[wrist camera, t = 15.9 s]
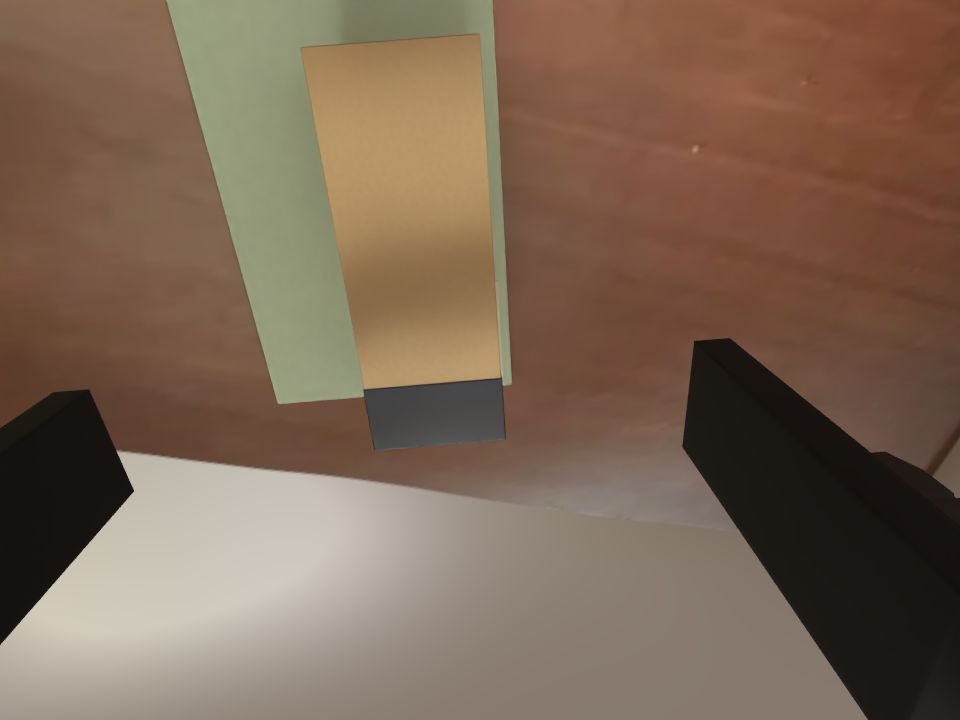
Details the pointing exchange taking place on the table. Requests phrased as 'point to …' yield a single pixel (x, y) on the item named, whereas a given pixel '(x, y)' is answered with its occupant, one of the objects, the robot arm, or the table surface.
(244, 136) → the envelope
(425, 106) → the beech block
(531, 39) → the table surface
